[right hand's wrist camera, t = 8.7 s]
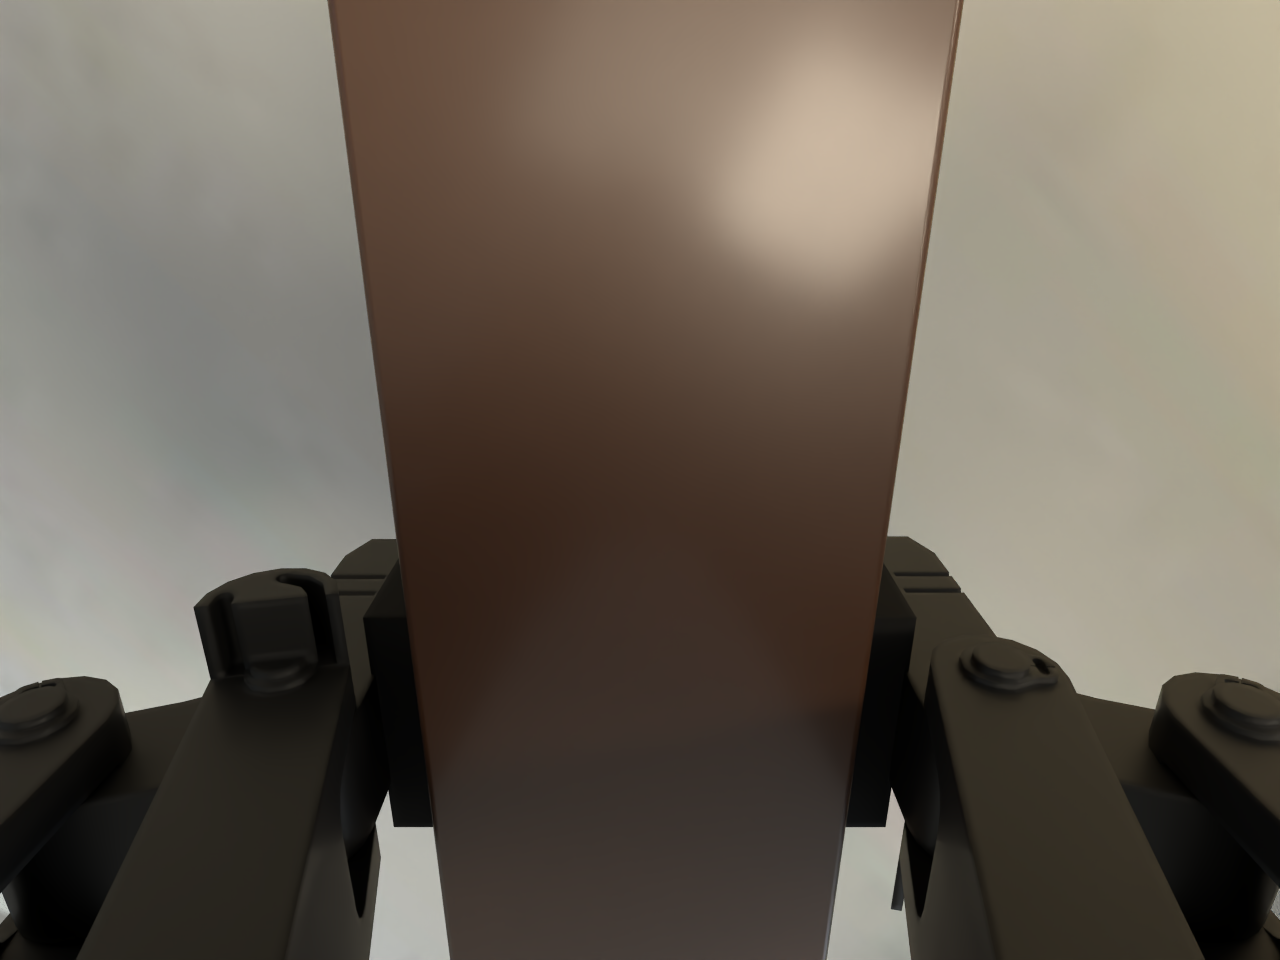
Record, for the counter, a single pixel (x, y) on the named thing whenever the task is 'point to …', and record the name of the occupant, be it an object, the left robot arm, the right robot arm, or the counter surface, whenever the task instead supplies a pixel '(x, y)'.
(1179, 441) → the counter surface
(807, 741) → the walnut rail
